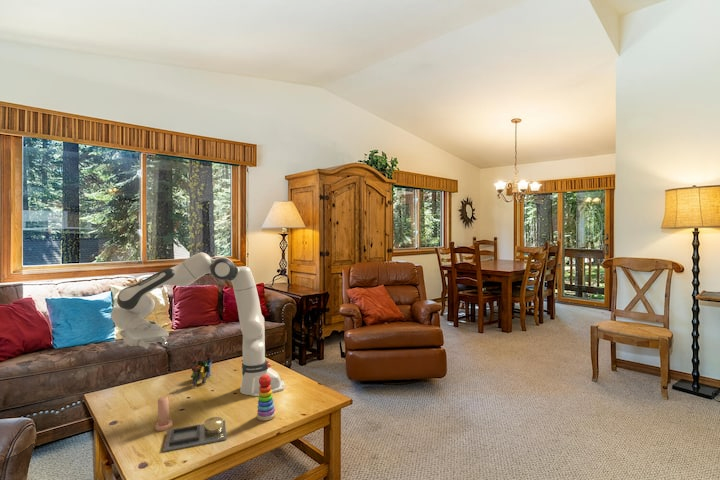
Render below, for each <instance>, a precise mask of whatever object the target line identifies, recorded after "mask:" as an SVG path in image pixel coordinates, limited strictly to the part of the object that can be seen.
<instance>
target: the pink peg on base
mask: <svg viewBox="0 0 720 480" xmlns="http://www.w3.org/2000/svg"><path fill="white" fill-rule="evenodd" d="M157 417H158V422H156V423H155V425H154V428H155V431H157V432H164V431H168V430H171V428H173V420H172V419H170V402H169V397H168V396H163V397H159V398H158V399H157Z"/></svg>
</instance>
